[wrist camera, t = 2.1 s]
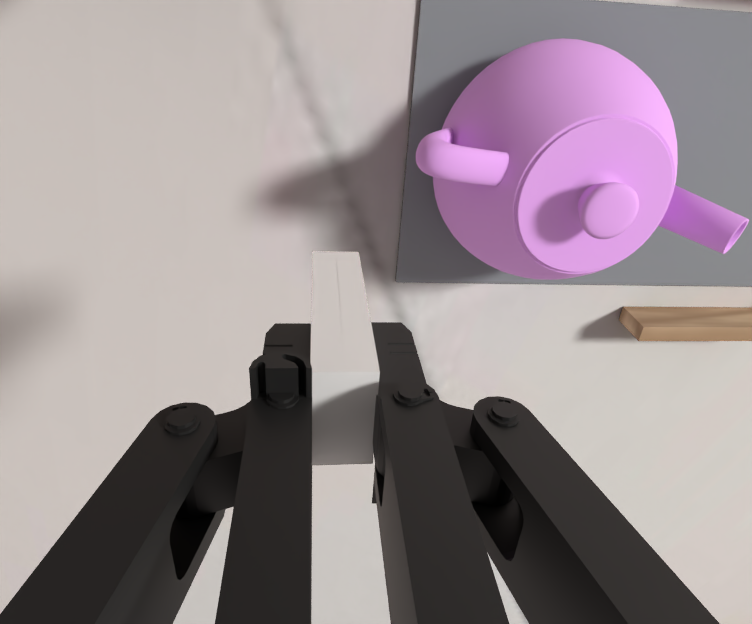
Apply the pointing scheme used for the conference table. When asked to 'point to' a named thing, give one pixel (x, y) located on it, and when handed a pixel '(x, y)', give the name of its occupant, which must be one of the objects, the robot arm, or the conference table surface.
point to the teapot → (564, 164)
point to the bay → (688, 323)
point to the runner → (657, 60)
